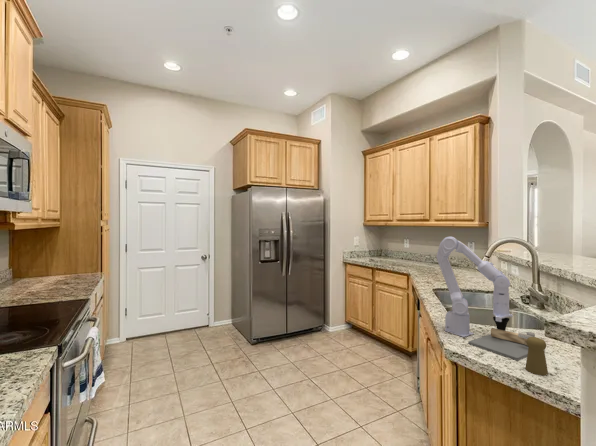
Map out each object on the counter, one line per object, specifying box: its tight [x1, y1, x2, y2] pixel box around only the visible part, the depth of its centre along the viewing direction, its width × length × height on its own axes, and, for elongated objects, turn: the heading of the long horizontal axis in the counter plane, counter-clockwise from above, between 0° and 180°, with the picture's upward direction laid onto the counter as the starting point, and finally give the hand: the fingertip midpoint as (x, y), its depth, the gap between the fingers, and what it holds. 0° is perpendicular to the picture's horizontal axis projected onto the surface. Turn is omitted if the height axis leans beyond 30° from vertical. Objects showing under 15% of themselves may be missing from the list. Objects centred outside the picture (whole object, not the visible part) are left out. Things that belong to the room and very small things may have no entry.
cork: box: [525, 336, 549, 376], centre depth 101 cm, size 6×6×11 cm
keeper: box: [518, 332, 534, 339], centre depth 117 cm, size 5×2×5 cm, turn 30°
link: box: [490, 327, 538, 346], centre depth 123 cm, size 16×4×3 cm, turn 41°
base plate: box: [467, 331, 536, 362], centre depth 121 cm, size 18×20×6 cm
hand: (501, 334), depth 128 cm, fingers closed, pressing on link
